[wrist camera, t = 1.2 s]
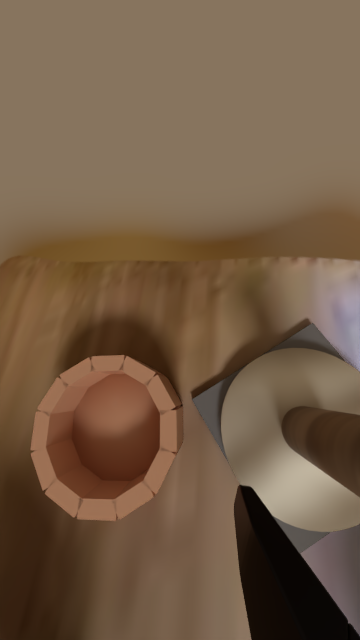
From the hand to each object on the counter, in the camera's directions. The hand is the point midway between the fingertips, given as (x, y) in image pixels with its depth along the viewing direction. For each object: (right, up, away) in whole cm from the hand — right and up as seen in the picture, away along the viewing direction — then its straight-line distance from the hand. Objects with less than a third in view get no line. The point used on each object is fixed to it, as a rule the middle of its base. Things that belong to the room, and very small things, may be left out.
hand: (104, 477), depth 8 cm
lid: (+12, -4, +12) cm, 17 cm away
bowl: (-3, -4, +14) cm, 15 cm away
